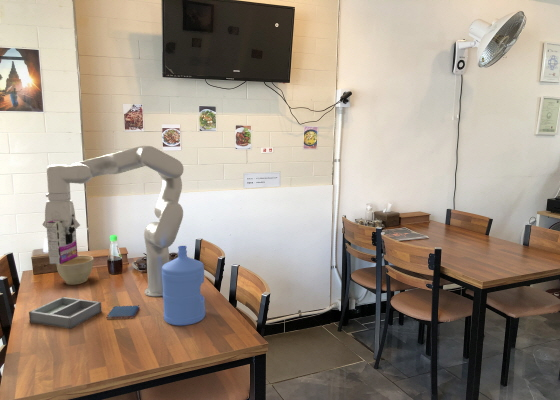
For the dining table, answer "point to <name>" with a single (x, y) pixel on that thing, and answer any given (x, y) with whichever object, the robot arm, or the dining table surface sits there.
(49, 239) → the candy bar box
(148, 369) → the dining table surface
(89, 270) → the planter bowl
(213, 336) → the dining table surface
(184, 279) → the water jug
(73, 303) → the tray
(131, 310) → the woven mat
